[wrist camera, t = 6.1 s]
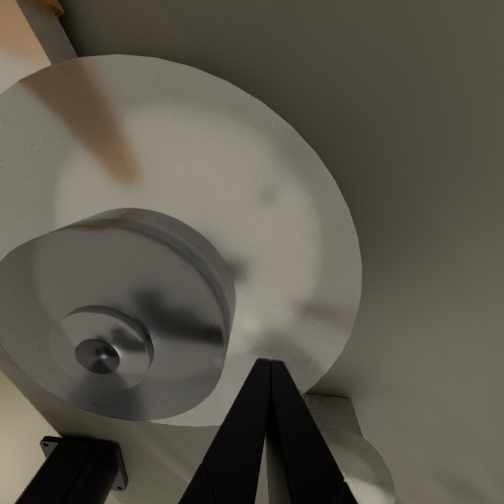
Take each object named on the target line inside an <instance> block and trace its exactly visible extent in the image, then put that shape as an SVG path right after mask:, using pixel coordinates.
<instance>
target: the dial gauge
mask: <svg viewBox="0 0 504 504" xmlns="http://www.w3.org/2000/svg"><path fill="white" fill-rule="evenodd" d="M305 403H306V405H307V407H308V409H309V411H310V413H311V415H312V417H313V418H314V420H315V422H316V424H317V426H318V428H319V430H320V432H321V434H322V436H323V438H324V440H325V441H326V443H327V445H328V447H329V449H330V451H331V453H332V455H333V457H334V459H335V461H336V463H337V464H338V466H339V468H340V470H341V472H342V474H343V476H344V481H346V482H347V483H348V485H349V487H350V489H351V491H352V493H353V495H354V497H355V499H356V501H357V502H358V504H395V489H394V484H393V480H392V477H391V474H390V472H389V469H388V467H387V465H386V463H385V462H384V460H383V459H382V457H381V456H380V454H379V453H378V452H377V451H376V449H375V448H374V447H373V446H372V445H371V444H370V443H369V442H368V441H366V440H365V439H364V438H363V436H362V433H361V430H360V427H359V423H358V420H357V417H356V414H355V411H354V408H353V404H352V401H351V398H342V397H333V396H324V395H315V394H306V396H305Z"/></svg>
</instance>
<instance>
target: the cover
mask: <svg viewBox="0 0 504 504" xmlns="http://www.w3.org/2000/svg"><path fill="white" fill-rule="evenodd" d="M235 310H236V291H235V286H234V282H233V279H232V276H231V273H230V271H229V269H228V267H227V265H226V263H225V261H224V260H223V258H222V257H221V255H220V254H219V252H218V251H217V250H216V249H215V248H214V246H213V245H212V244H211V243H210V242H209V241H208V240H207V239H206V238H205V237H204V236H202V235H201V234H200V233H199V232H197V231H196V230H195V229H193V228H192V227H190V226H189V225H187V224H185V223H184V222H182V221H180V220H178V219H176V218H174V217H171V216H169V215H166V214H164V213H160V212H157V211H153V210H148V209H141V208H118V209H111V210H108V211H104V212H100V213H98V214H95V215H93V216H90V217H88V218H85V219H82V220H80V221H77V222H75V223H72V224H70V225H67V226H64V227H62V228H59V229H57V230H54V231H52V232H49V233H47V234H44V235H41V236H39V237H36V238H34V239H31V240H29V241H27V242H25V243H23V244H21V245H19V246H17V247H16V248H15V249H13V250H12V251H10V252H9V253H8V254H7V255H6V256H5V257H4V258H3V259H2V260H1V261H0V342H1V344H2V346H3V347H4V349H5V350H6V352H7V353H8V354H9V356H10V357H11V358H12V359H13V361H14V362H15V363H16V364H17V365H18V366H19V367H20V368H21V369H22V370H23V371H24V372H25V373H26V374H27V375H28V376H29V377H30V378H31V379H32V380H34V381H35V382H36V383H37V384H38V385H40V386H41V387H43V388H44V389H46V390H47V391H48V392H50V393H51V394H53V395H55V396H57V397H58V398H60V399H62V400H64V401H66V402H68V403H70V404H72V405H74V406H76V407H79V408H81V409H83V410H86V411H89V412H92V413H95V414H98V415H102V416H106V417H110V418H116V419H122V420H133V421H151V420H160V419H165V418H170V417H174V416H177V415H179V414H182V413H185V412H187V411H189V410H191V409H193V408H194V407H196V406H197V405H199V404H200V403H202V402H203V401H204V400H205V399H206V398H207V397H208V396H209V395H210V394H211V393H212V391H213V390H214V389H215V387H216V385H217V383H218V382H219V380H220V377H221V374H222V371H223V367H224V363H225V358H226V353H227V349H228V344H229V339H230V335H231V330H232V325H233V320H234V316H235Z"/></svg>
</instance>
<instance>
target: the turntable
mask: <svg viewBox="0 0 504 504" xmlns="http://www.w3.org/2000/svg"><path fill="white" fill-rule="evenodd" d="M64 13H65V12H64V10H63V8H62V6H61V4H60V3H59V1H58V0H0V261H1V260H2V259H3V258H4V257H5V256H6V255H7V254H8V253H9V252H10V251H12V250H13V249H15V248H16V247H17V246H19V245H21V244H23V243H25V242H27V241H29V240H31V239H34V238H36V237H39V236H41V235H44V234H47V233H49V232H52V231H54V230H57V229H59V228H62V227H64V226H67V225H70V224H72V223H75V222H77V221H80V220H82V219H85V218H88V217H90V216H93V215H95V214H98V213H100V212H104V211H108V210H111V209H118V208H141V209H148V210H153V211H157V212H160V213H164V214H166V215H169V216H171V217H174V218H176V219H178V220H180V221H182V222H184V223H185V224H187V225H189V226H190V227H192V228H193V229H195V230H196V231H197V232H199V233H200V234H201V235H202V236H204V237H205V238H206V239H207V240H208V241H209V242H210V243H211V244H212V245H213V246H214V248H215V249H216V250H217V251H218V252H219V254H220V255H221V257H222V258H223V260H224V261H225V263H226V265H227V267H228V269H229V271H230V273H231V276H232V279H233V282H234V286H235V291H236V310H235V316H234V320H233V325H232V330H231V335H230V339H229V344H228V349H227V353H226V358H225V363H224V367H223V371H222V374H221V377H220V380H219V382H218V383H217V385H216V387H215V389H214V390H213V391H212V393H211V394H210V395H209V396H208V397H207V398H206V399H205V400H204V401H203V402H202V403H200V404H199V405H197V406H196V407H194V408H193V409H191V410H189V411H187V412H185V413H182V414H179V415H177V416H174V417H170V418H165V419H160V420H151V421H150V422H155V423H161V424H169V425H177V426H214V425H222V423H223V421H224V419H225V417H226V415H227V413H228V412H229V410H230V408H231V406H232V404H233V402H234V400H235V398H236V397H237V395H238V393H239V391H240V389H241V387H242V385H243V384H244V382H245V380H246V378H247V376H248V374H249V372H250V370H251V369H252V367H253V365H254V363H255V361H256V359H257V358H267V359H269V360H271V359H277V360H282V361H284V363H285V365H286V367H287V369H288V371H289V372H290V374H291V376H292V378H293V380H294V382H295V384H296V386H297V388H298V390H299V392H300V394H301V395H302V394H303V393H305V392H306V391H307V390H308V389H310V388H311V387H312V386H313V385H315V384H316V383H317V382H318V381H319V380H320V379H321V378H322V377H323V376H324V374H325V373H326V372H327V371H328V370H329V369H330V368H331V367H332V365H333V364H334V362H335V361H336V359H337V358H338V357H339V355H340V354H341V352H342V351H343V349H344V347H345V345H346V343H347V341H348V339H349V337H350V335H351V333H352V329H353V326H354V323H355V320H356V317H357V314H358V310H359V304H360V297H361V291H362V261H361V255H360V248H359V242H358V236H357V233H356V230H355V227H354V223H353V220H352V217H351V214H350V211H349V208H348V206H347V204H346V202H345V200H344V198H343V196H342V194H341V192H340V190H339V188H338V186H337V183H336V181H335V180H334V178H333V177H332V175H331V174H330V172H329V171H328V169H327V168H326V167H325V165H324V164H323V162H322V161H321V159H320V158H319V156H318V155H317V153H316V152H315V151H314V150H313V149H312V148H311V147H310V146H309V144H308V143H307V142H306V141H305V140H304V139H303V138H302V137H301V136H300V135H299V134H298V132H297V131H296V130H295V129H294V128H293V127H292V126H291V125H290V124H288V123H287V122H286V121H285V120H284V119H282V118H281V117H280V116H279V115H277V114H276V113H275V112H274V111H273V110H271V109H270V108H269V107H268V106H266V105H265V104H264V103H263V102H261V101H260V100H258V99H256V98H255V97H253V96H251V95H250V94H248V93H246V92H245V91H243V90H241V89H240V88H238V87H236V86H235V85H233V84H231V83H230V82H228V81H225V80H223V79H220V78H218V77H216V76H213V75H211V74H209V73H206V72H204V71H201V70H199V69H197V68H194V67H191V66H187V65H183V64H179V63H175V62H171V61H167V60H163V59H159V58H155V57H144V56H133V55H122V54H114V55H101V56H88V57H80V58H78V56H77V54H76V52H75V50H74V48H73V46H72V45H71V43H70V41H69V39H68V37H67V35H66V33H65V31H64V29H63V28H62V26H61V24H60V22H59V20H58V17H60V16H61V15H63V14H64Z"/></svg>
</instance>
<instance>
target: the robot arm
mask: <svg viewBox="0 0 504 504" xmlns="http://www.w3.org/2000/svg"><path fill="white" fill-rule="evenodd" d="M264 439H265V443H266V460H267V477H268V493H269V504H358V502H357V501H356V499H355V497H354V495H353V493H352V491H351V489H350V487H349V485H348V483H347V482H346V481H344V476H343V474H342V472H341V470H340V468H339V466H338V464H337V463H336V461H335V459H334V457H333V455H332V453H331V451H330V449H329V447H328V445H327V443H326V441H325V440H324V438H323V436H322V434H321V432H320V430H319V428H318V426H317V424H316V422H315V420H314V418H313V417H312V415H311V413H310V411H309V409H308V407H307V405H306V403H305V401H304V399H303V397H302V395H301V394H300V392H299V390H298V388H297V386H296V384H295V382H294V380H293V378H292V376H291V374H290V372H289V371H288V369H287V367H286V365H285V363H284V361H282V360H277V359H271V360H269V359H267V358H257V359H256V361H255V363H254V365H253V367H252V369H251V370H250V372H249V374H248V376H247V378H246V380H245V382H244V384H243V385H242V387H241V389H240V391H239V393H238V395H237V397H236V398H235V400H234V402H233V404H232V406H231V408H230V410H229V412H228V413H227V415H226V417H225V419H224V421H223V423H222V425H221V426H220V428H219V430H218V432H217V434H216V436H215V438H214V440H213V441H212V443H211V445H210V447H209V449H208V451H207V453H206V454H205V456H204V458H203V460H202V463H201V464H200V465H199V467H198V469H197V471H196V473H195V475H194V476H193V478H192V480H191V482H190V484H189V485H188V487H187V489H186V491H185V492H184V494H183V496H182V498H181V499H180V501H179V503H178V504H255V499H256V492H257V486H258V479H259V472H260V466H261V459H262V452H263V446H264ZM40 445H41V448H42V450H43V452H44V454H45V456H46V460H45V462H44V463H43V465H42V466H41V467H40V469H39V470H38V471H37V473H36V474H35V476H34V477H33V478H32V480H31V481H30V483H29V484H28V485H27V487H26V488H25V490H24V491H23V492H22V494H21V495H20V497H19V498H18V499H17V501H16V502H15V504H104V503H105V501H106V498H107V496H108V494H109V492H110V490H115V491H125V489H126V487H127V484H128V483H127V479H126V475H125V471H124V467H123V463H122V458H121V454H120V450H119V447H118V446H117V445H115V444H110V443H102V442H94V441H85V440H77V439H69V438H61V437H53V436H45V437H44V438H43V439H42V440H41V442H40Z"/></svg>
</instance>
